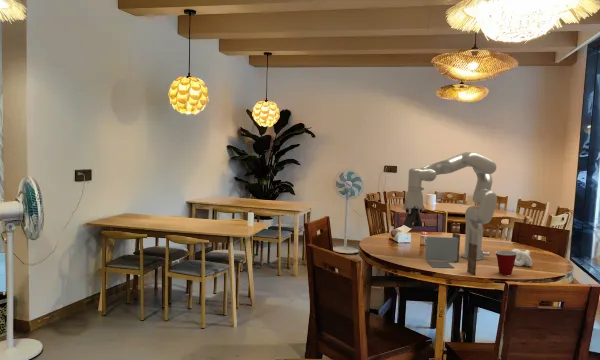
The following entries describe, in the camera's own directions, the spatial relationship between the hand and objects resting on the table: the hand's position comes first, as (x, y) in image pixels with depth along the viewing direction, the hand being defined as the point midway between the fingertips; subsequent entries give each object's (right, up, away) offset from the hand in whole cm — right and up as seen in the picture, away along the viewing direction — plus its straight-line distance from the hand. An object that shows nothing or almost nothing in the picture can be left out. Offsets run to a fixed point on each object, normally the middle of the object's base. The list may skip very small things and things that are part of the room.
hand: (413, 220), depth 261 cm
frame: (+24, -25, -15) cm, 37 cm away
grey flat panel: (+14, -23, -6) cm, 28 cm away
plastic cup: (+41, -26, -28) cm, 56 cm away
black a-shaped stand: (0, -4, 0) cm, 4 cm away
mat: (+12, -24, -14) cm, 30 cm away
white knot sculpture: (+61, -26, -6) cm, 66 cm away
